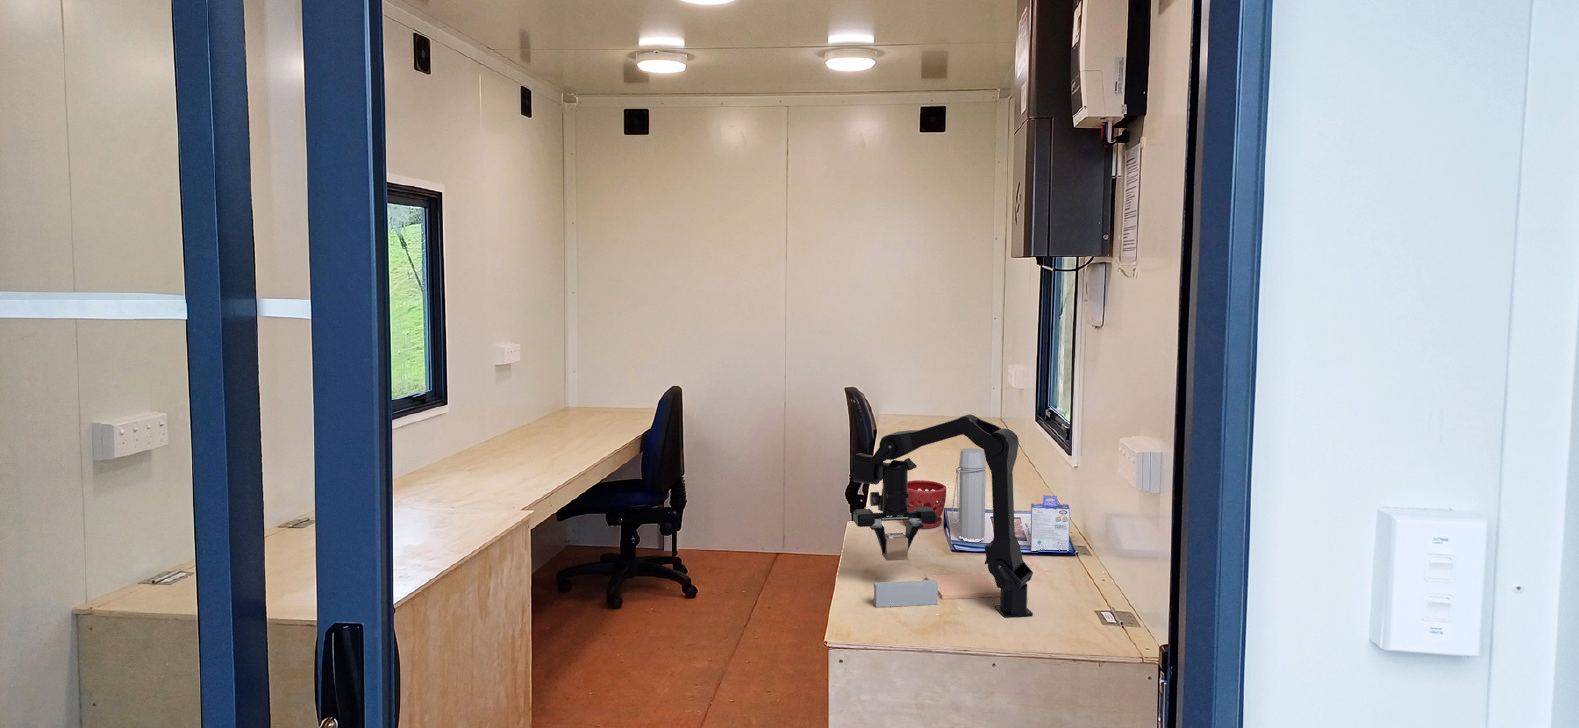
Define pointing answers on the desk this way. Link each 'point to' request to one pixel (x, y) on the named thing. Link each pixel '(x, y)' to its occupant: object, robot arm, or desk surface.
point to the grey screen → (906, 593)
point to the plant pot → (926, 498)
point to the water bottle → (971, 494)
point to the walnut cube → (896, 547)
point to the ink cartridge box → (1050, 525)
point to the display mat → (964, 586)
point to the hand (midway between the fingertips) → (894, 552)
